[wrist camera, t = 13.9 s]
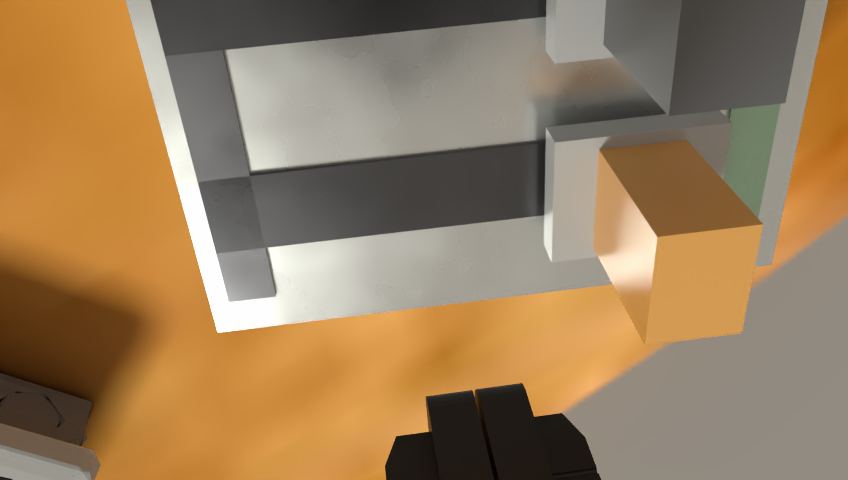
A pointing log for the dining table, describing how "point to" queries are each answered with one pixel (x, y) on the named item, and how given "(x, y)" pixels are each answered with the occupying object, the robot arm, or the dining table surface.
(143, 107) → the dining table surface
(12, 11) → the dining table surface
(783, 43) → the breaker mid
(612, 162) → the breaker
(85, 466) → the electrical switch
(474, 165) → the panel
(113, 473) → the dining table surface
